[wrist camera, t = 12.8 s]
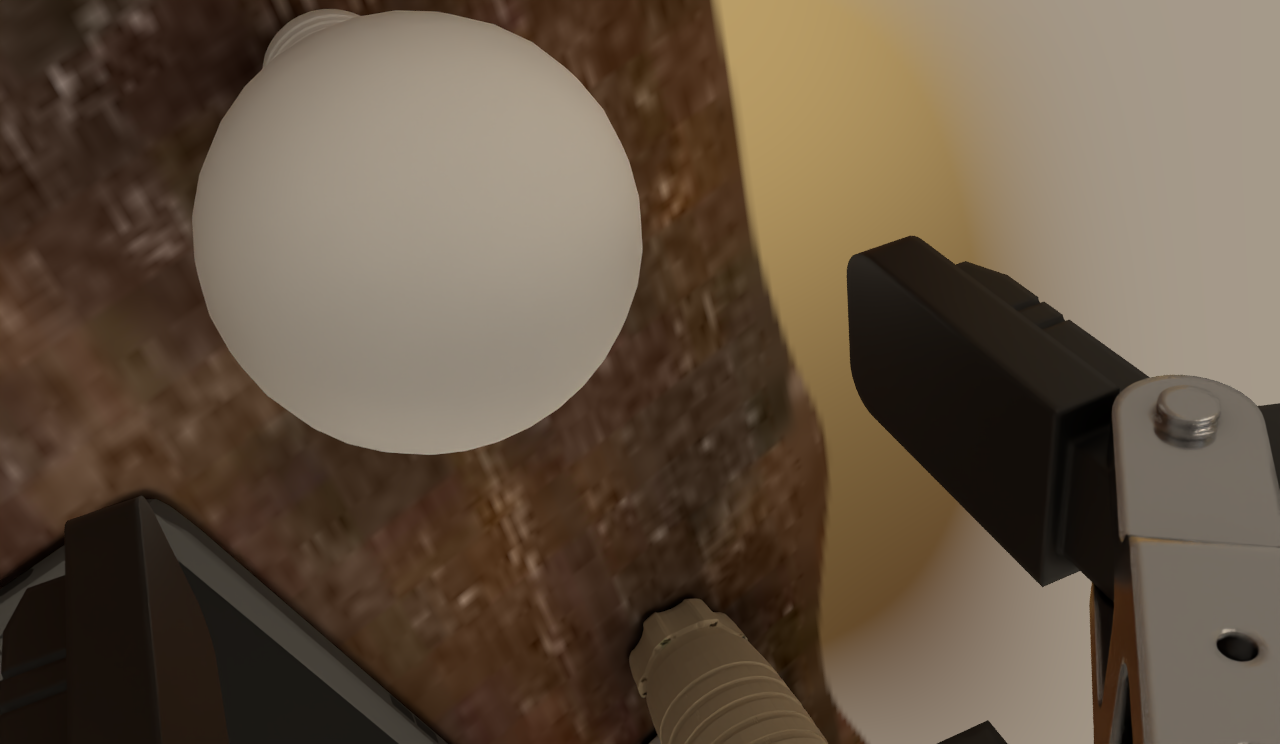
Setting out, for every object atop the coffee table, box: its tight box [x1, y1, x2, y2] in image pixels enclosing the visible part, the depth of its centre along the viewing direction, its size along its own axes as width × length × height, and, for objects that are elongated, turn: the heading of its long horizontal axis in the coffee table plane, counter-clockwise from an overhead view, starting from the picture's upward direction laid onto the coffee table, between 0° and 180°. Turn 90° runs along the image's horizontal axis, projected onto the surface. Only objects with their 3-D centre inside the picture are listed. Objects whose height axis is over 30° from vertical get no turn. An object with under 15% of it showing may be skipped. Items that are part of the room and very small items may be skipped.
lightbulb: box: [192, 9, 642, 455], centre depth 19 cm, size 6×6×11 cm
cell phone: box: [0, 499, 448, 744], centre depth 30 cm, size 7×14×1 cm, turn 28°
